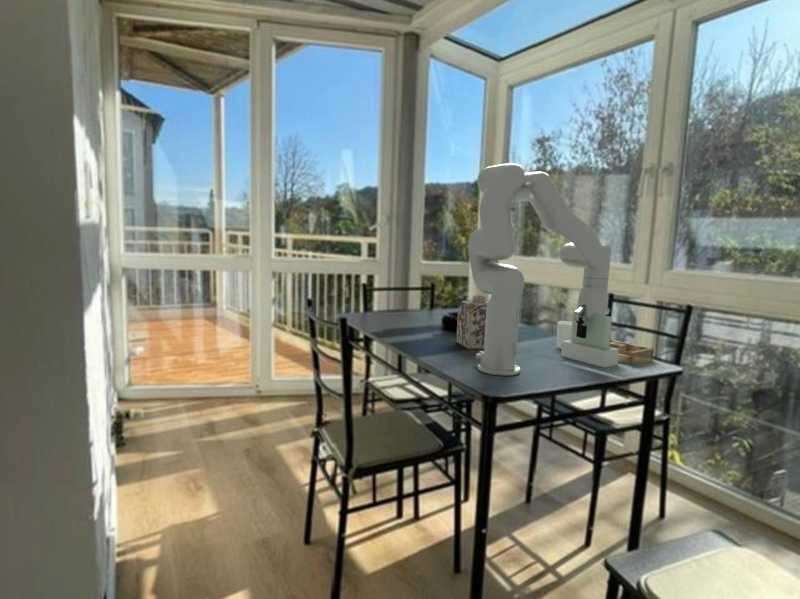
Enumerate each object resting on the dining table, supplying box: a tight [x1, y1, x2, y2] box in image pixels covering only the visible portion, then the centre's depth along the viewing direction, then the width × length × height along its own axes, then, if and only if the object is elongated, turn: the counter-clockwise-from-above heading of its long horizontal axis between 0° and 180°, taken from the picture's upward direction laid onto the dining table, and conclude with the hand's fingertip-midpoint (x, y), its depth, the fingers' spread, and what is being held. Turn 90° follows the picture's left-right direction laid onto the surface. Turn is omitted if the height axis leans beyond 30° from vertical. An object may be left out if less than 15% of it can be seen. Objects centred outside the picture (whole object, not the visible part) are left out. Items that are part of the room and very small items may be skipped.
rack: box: [609, 339, 655, 366], centre depth 178 cm, size 18×12×5 cm, turn 36°
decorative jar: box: [456, 294, 489, 350], centre depth 191 cm, size 12×12×18 cm
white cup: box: [556, 320, 573, 350], centre depth 189 cm, size 8×8×10 cm
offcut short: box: [609, 342, 626, 352], centre depth 178 cm, size 5×3×2 cm, turn 36°
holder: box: [560, 340, 619, 368], centre depth 172 cm, size 16×7×6 cm, turn 36°
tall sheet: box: [571, 311, 613, 350], centre depth 171 cm, size 12×3×15 cm, turn 36°
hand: (590, 336), depth 171 cm, fingers open, 9 cm apart
